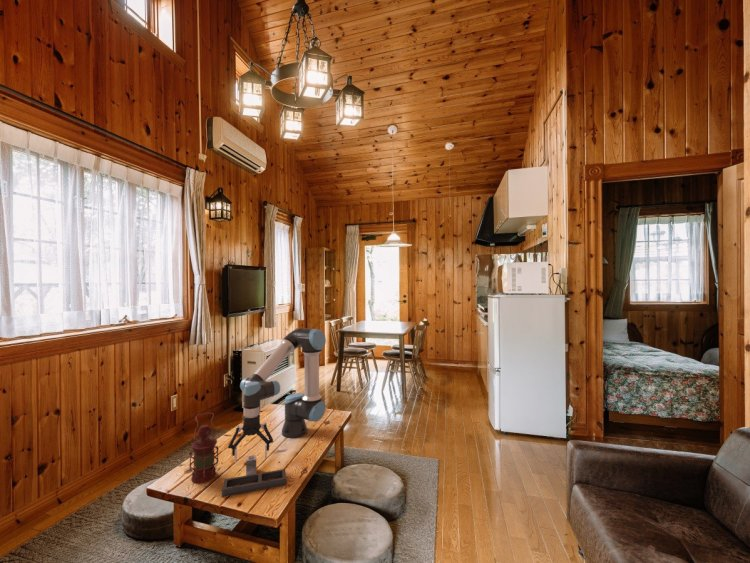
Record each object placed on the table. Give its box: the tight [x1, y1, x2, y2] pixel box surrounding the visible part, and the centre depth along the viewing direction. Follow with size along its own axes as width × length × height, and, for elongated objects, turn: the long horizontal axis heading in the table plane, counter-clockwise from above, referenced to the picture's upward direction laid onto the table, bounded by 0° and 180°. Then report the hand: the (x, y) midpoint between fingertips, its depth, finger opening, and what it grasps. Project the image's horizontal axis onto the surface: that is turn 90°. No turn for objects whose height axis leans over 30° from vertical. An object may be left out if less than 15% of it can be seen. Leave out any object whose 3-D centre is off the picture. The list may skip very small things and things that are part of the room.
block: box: [245, 454, 257, 476], centre depth 160 cm, size 4×4×7 cm
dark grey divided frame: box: [221, 468, 287, 498], centre depth 149 cm, size 26×8×3 cm, turn 109°
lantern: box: [189, 412, 219, 484], centre depth 156 cm, size 12×12×30 cm
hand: (250, 459), depth 159 cm, fingers open, 13 cm apart
